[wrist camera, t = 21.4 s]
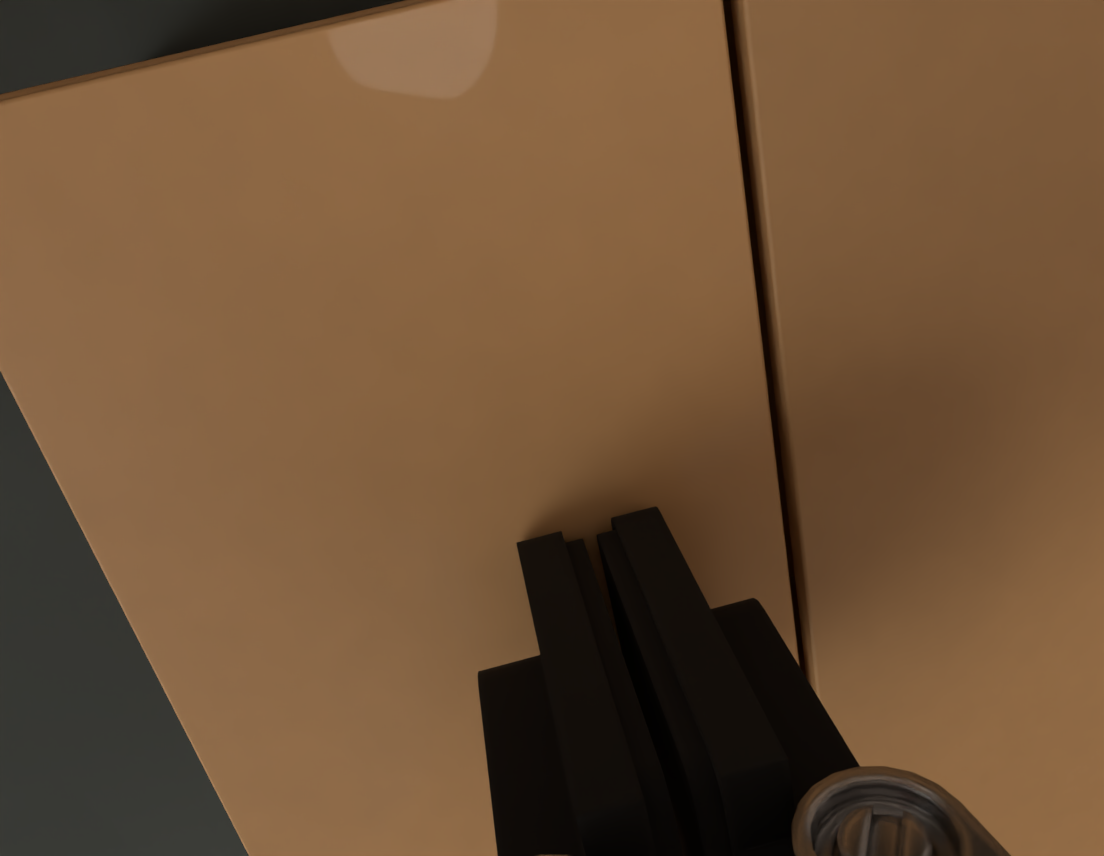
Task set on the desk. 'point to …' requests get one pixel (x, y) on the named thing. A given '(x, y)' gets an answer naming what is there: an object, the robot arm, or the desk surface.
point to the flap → (387, 373)
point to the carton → (933, 380)
